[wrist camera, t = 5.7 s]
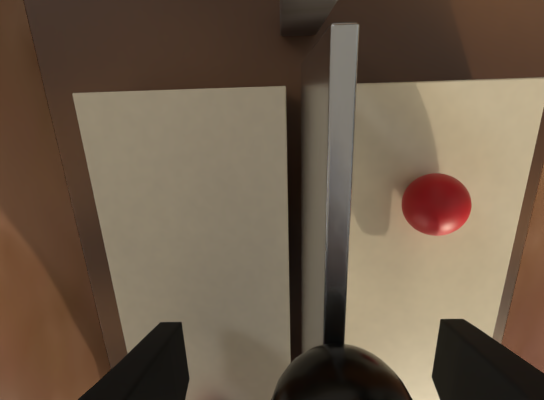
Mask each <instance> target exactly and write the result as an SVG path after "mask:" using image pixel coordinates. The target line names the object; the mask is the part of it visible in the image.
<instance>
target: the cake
mask: <svg viewBox="0 0 544 400" xmlns="http://www.w3.org/2000/svg"><path fill="white" fill-rule="evenodd" d="M72 95H73V100H74V104H75V109H76V114H77V118H78V123H79V128H80V133H81V137H82V142H83V147H84V151H85V156H86V161H87V165H88V170H89V175H90V180H91V184H92V189H93V194H94V198H95V203H96V208H97V212H98V217H99V222H100V227H101V231H102V236H103V241H104V245H105V250H106V255H107V259H108V264H109V269H110V273H111V278H112V283H113V288H114V292H115V297H116V302H117V306H118V311H119V316H120V320H121V325H122V330H123V335H124V339H125V344H126V349H127V353H129V352H130V351H131V350H132V349H133V348H134V347H135V346H136V345H137V344H138V343H139V342H140V341H141V340H142V339H143V338H144V337H145V336H146V335H147V334H148V333H150V332H151V331H152V330H153V329H154V328H155V327H156V326H157V325H158V324H159V323H160V322H182V328H183V335H184V342H185V350H186V357H187V364H188V371H189V378H190V379H189V384H188V389H187V393H186V398H185V400H271V398H272V396H273V393H274V390H275V388H276V385H277V382H278V380H279V378H280V377H281V375H282V374H283V372H284V371H285V369H286V368H287V367H288V365H289V364H290V363H291V355H290V296H289V236H288V177H287V117H286V86H268V87H238V88H208V89H179V90H149V91H119V92H89V93H73V94H72ZM543 108H544V77H537V78H507V79H477V80H447V81H417V82H388V83H358V84H357V92H356V113H355V134H354V155H353V176H352V197H351V218H350V239H349V260H348V281H347V302H346V323H345V344H349V345H354V346H357V347H360V348H362V349H365V350H367V351H369V352H371V353H373V354H374V355H376V356H377V357H379V358H380V359H381V360H382V361H384V362H385V363H386V364H387V365H388V366H389V367H390V368H391V369H392V370H393V371H394V372H395V373H396V374H397V375H398V377H399V378H400V379H401V380H402V382H403V383H404V385H405V387H406V388H407V390H408V392H409V394H410V396H411V398H412V399H413V400H440V398H439V396H438V393H437V390H436V388H435V385H434V383H433V380H432V371H433V364H434V358H435V351H436V345H437V339H438V332H439V326H440V319H464V320H466V321H468V322H469V323H471V324H472V325H474V326H475V327H477V328H478V329H480V330H481V331H483V332H484V333H486V334H487V335H489V336H490V337H492V338H493V333H494V329H495V324H496V320H497V315H498V311H499V306H500V302H501V297H502V293H503V288H504V284H505V279H506V275H507V270H508V266H509V261H510V257H511V252H512V248H513V243H514V239H515V234H516V230H517V225H518V221H519V216H520V212H521V207H522V203H523V198H524V194H525V189H526V185H527V180H528V176H529V171H530V167H531V162H532V158H533V153H534V149H535V144H536V140H537V135H538V131H539V126H540V122H541V117H542V113H543Z"/></svg>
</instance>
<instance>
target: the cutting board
mask: <svg viewBox="0 0 544 400" xmlns="http://www.w3.org/2000/svg"><path fill="white" fill-rule="evenodd" d="M23 1H24V5H25V9H26V13H27V17H28V22H29V26H30V30H31V34H32V38H33V43H34V47H35V51H36V55H37V60H38V64H39V68H40V72H41V76H42V81H43V85H44V89H45V93H46V97H47V102H48V106H49V110H50V114H51V119H52V123H53V127H54V131H55V135H56V140H57V144H58V148H59V152H60V156H61V161H62V165H63V169H64V173H65V178H66V182H67V186H68V190H69V194H70V199H71V203H72V207H73V211H74V215H75V220H76V224H77V228H78V232H79V237H80V241H81V245H82V249H83V253H84V258H85V262H86V266H87V270H88V274H89V279H90V283H91V287H92V291H93V296H94V300H95V304H96V308H97V312H98V317H99V321H100V325H101V329H102V333H103V338H104V342H105V346H106V350H107V355H108V359H109V363H110V367H111V369H112V368H113V367H114V366H115V365H116V364H117V363H119V362H120V361H121V360H122V359H123V358H124V357H125V356H126V355H127V354H128V353H127V349H126V344H125V339H124V335H123V330H122V325H121V320H120V316H119V311H118V306H117V302H116V297H115V292H114V288H113V283H112V278H111V273H110V269H109V264H108V259H107V255H106V250H105V245H104V241H103V236H102V231H101V227H100V222H99V217H98V212H97V208H96V203H95V198H94V194H93V189H92V184H91V180H90V175H89V170H88V165H87V161H86V156H85V151H84V147H83V142H82V137H81V133H80V128H79V123H78V118H77V114H76V109H75V104H74V100H73V95H72V94H73V93H89V92H119V91H149V90H179V89H208V88H238V87H268V86H286V117H287V177H288V236H289V296H290V355H291V362H292V361H293V360H294V359H295V358H296V357H298V356H299V355H301V354H302V267H301V63H302V61H303V60H304V59H305V57H306V56H307V55H308V54H309V52H310V51H311V50H312V48H313V47H314V46H315V44H316V43H317V42H318V40H319V39H320V38H321V36H322V35H323V34H324V32H325V31H326V30H327V28H328V27H329V26H330V24H332V23H337V22H358V23H359V25H360V29H359V50H358V71H357V84H358V83H388V82H417V81H447V80H477V79H507V78H537V77H544V0H23ZM543 164H544V108H543V113H542V117H541V122H540V126H539V131H538V135H537V140H536V144H535V149H534V153H533V158H532V162H531V167H530V171H529V176H528V180H527V185H526V189H525V194H524V198H523V203H522V207H521V212H520V216H519V221H518V225H517V230H516V234H515V239H514V243H513V248H512V252H511V257H510V261H509V266H508V270H507V275H506V279H505V284H504V288H503V293H502V297H501V302H500V306H499V311H498V315H497V320H496V324H495V329H494V333H493V339H494V340H496V341H497V342H499V343H500V344H501V343H502V339H503V335H504V331H505V326H506V322H507V318H508V313H509V309H510V305H511V301H512V296H513V292H514V288H515V284H516V279H517V275H518V271H519V267H520V262H521V258H522V254H523V249H524V245H525V241H526V237H527V232H528V228H529V224H530V220H531V215H532V211H533V207H534V203H535V198H536V194H537V190H538V185H539V181H540V177H541V173H542V168H543Z"/></svg>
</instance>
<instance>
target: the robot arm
mask: <svg viewBox="0 0 544 400" xmlns="http://www.w3.org/2000/svg"><path fill="white" fill-rule="evenodd" d="M189 379H190V378H189V371H188V364H187V357H186V350H185V342H184V335H183V328H182V322H160V323H159V324H158V325H157V326H156V327H155V328H154V329H153V330H152V331H151V332H150V333H148V334H147V335H146V336H145V337H144V338H143V339H142V340H141V341H140V342H139V343H138V344H137V345H136V346H135V347H134V348H133V349H132V350H131V351H130V352H129V353H128V354H127V355H126V356H125V357H124V358H123V359H122V360H121V361H120V362H119V363H117V364H116V365H115V366H114V367H113V368H112V369H111V370H110V371H109V372H108V373H107V374H106V375H105V376H104V377H103V378H102V379H101V380H99V381H98V382H97V383H96V384H95V385H94V386H93V387H92V388H90V389H89V390H88V391H87V392H86V393H85V394H84V395H82V396H81V397H80V398H79V399H78V400H185V398H186V393H187V389H188V384H189ZM432 380H433V383H434V385H435V388H436V390H437V393H438V396H439V398H440V400H544V373H542V372H541V371H539V370H538V369H536V368H535V367H534V366H532V365H531V364H529V363H528V362H526V361H525V360H523V359H522V358H520V357H519V356H518V355H516V354H515V353H513V352H512V351H510V350H509V349H507V348H506V347H505V346H503V345H502V344H500V343H499V342H497V341H496V340H494V339H493V338H492V337H490V336H489V335H487V334H486V333H484V332H483V331H481V330H480V329H478V328H477V327H475V326H474V325H472V324H471V323H469V322H468V321H466V320H464V319H440V326H439V332H438V339H437V345H436V351H435V358H434V364H433V371H432Z"/></svg>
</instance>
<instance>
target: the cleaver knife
mask: <svg viewBox="0 0 544 400" xmlns="http://www.w3.org/2000/svg"><path fill="white" fill-rule="evenodd" d="M359 29H360V25H359V23H358V22H337V23H332V24H330V26H329V27H328V28H327V30H326V31H325V32H324V34H323V35H322V36H321V38H320V39H319V40H318V42H317V43H316V44H315V46H314V47H313V48H312V50H311V51H310V52H309V54H308V55H307V56H306V57H305V59H304V60H303V61H302V63H301V267H302V354H301V355H299V356H298V357H296V358H295V359H294V360H293V361H292V362H291V363H290V364H289V365H288V367H287V368H286V369H285V371H284V372H283V374H282V375H281V377H280V378H279V380H278V382H277V385H276V388H275V390H274V393H273V396H272V398H271V400H413V399H412V398H411V396H410V394H409V392H408V390H407V388H406V387H405V385H404V383H403V382H402V380H401V379H400V378H399V377H398V375H397V374H396V373H395V372H394V371H393V370H392V369H391V368H390V367H389V366H388V365H387V364H386V363H385V362H384V361H382V360H381V359H380V358H379V357H377V356H376V355H374V354H373V353H371V352H369V351H367V350H365V349H362V348H360V347H357V346H354V345H349V344H345V323H346V302H347V281H348V260H349V239H350V218H351V197H352V176H353V155H354V134H355V113H356V92H357V71H358V50H359Z"/></svg>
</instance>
